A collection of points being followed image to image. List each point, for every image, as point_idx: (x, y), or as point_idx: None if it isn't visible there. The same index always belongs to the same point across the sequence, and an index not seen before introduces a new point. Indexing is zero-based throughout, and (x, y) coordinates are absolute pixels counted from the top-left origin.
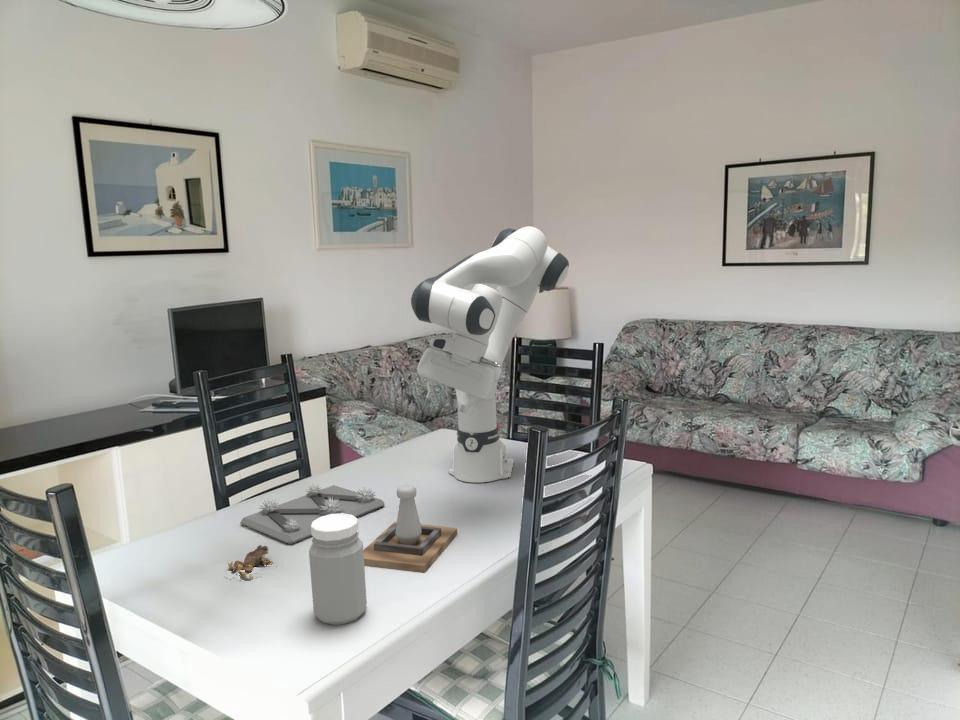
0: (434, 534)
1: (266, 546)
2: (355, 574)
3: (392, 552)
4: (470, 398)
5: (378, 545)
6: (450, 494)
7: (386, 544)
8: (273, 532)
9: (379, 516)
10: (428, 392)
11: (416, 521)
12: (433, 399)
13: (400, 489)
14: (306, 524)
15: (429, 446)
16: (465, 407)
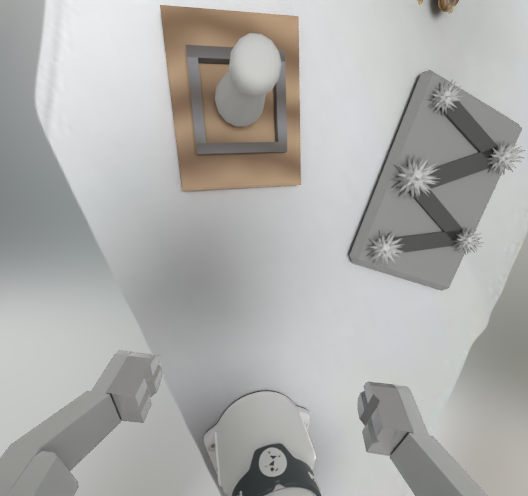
0: (194, 120)
1: (449, 1)
2: None
3: None
4: (33, 463)
5: None
6: (269, 338)
7: None
8: (461, 90)
9: (339, 220)
10: (418, 425)
11: (221, 86)
12: (360, 406)
13: (265, 39)
14: (427, 126)
15: (378, 488)
16: (105, 380)
